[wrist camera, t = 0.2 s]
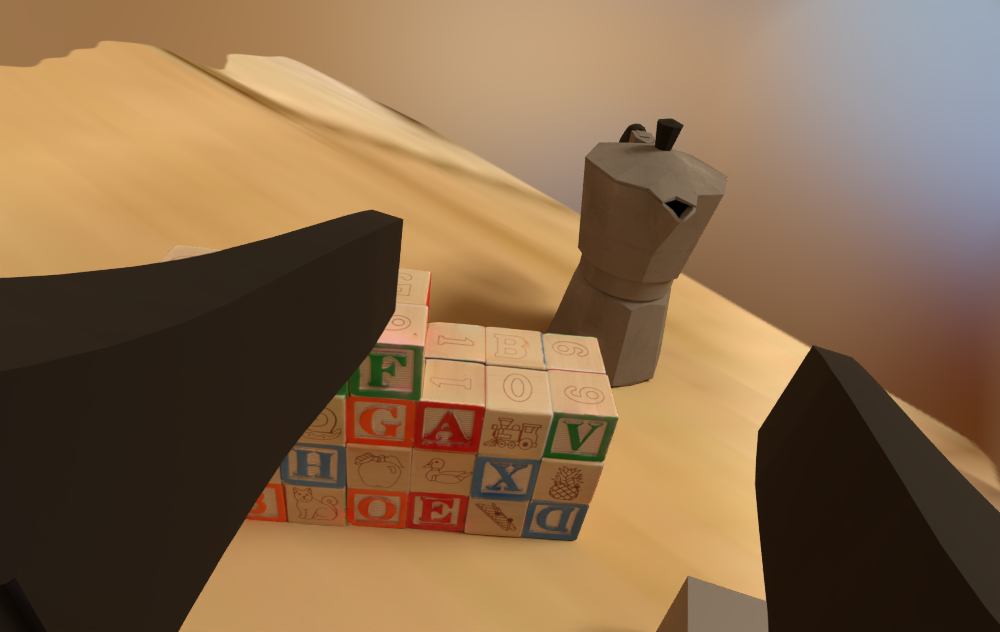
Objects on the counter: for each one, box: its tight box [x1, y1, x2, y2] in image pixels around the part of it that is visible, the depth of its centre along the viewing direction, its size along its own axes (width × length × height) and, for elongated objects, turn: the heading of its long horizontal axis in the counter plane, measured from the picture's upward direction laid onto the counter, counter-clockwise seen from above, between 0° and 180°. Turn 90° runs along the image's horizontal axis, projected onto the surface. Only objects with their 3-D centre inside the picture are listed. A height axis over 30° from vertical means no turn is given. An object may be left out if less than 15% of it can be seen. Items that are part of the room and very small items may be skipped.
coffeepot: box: [547, 119, 728, 387], centre depth 42 cm, size 15×9×18 cm, turn 0°
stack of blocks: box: [159, 246, 618, 540], centre depth 30 cm, size 21×6×12 cm, turn 91°
